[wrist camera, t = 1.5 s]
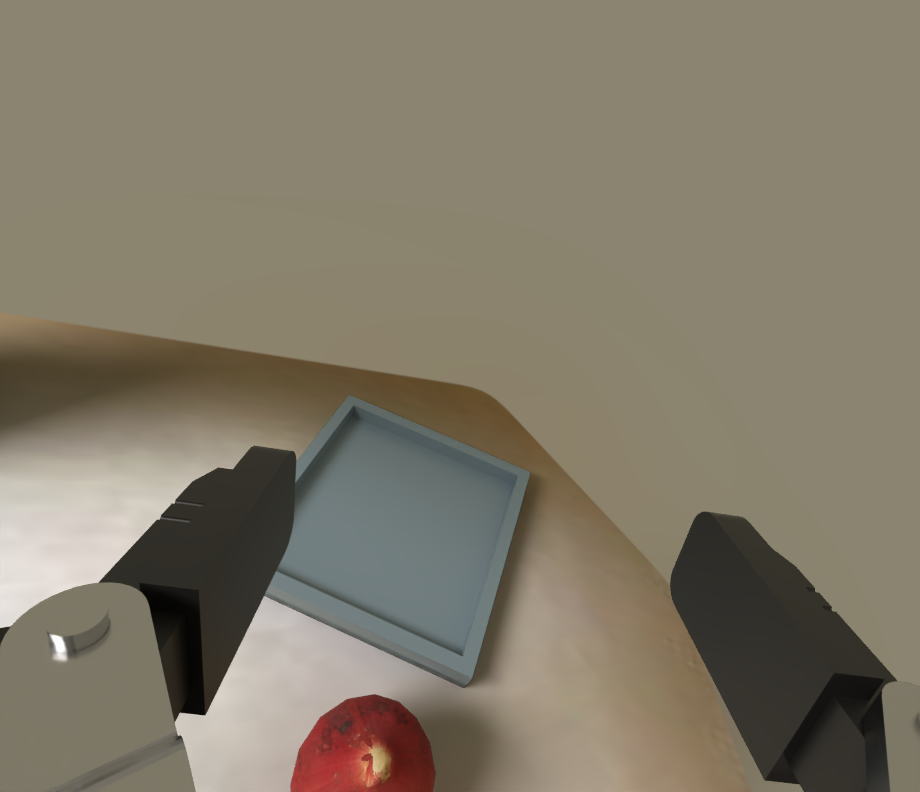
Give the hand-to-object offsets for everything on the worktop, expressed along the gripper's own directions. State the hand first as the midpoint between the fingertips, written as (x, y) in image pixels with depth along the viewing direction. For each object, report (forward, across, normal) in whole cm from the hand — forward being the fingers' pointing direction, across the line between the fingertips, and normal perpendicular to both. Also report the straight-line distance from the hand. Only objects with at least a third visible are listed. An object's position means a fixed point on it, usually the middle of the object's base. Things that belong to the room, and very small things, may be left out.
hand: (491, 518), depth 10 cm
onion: (+6, +2, +21) cm, 22 cm away
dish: (+19, +3, +15) cm, 25 cm away
